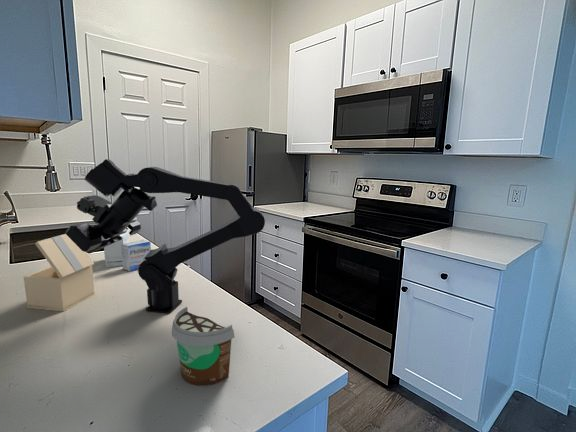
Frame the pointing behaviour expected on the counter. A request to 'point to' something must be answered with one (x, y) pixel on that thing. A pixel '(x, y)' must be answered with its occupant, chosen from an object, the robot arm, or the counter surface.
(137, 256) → the medicine box
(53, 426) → the counter surface
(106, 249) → the skincare box
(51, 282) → the carton
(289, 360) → the counter surface
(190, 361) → the food container
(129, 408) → the counter surface
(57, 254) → the carton lid
